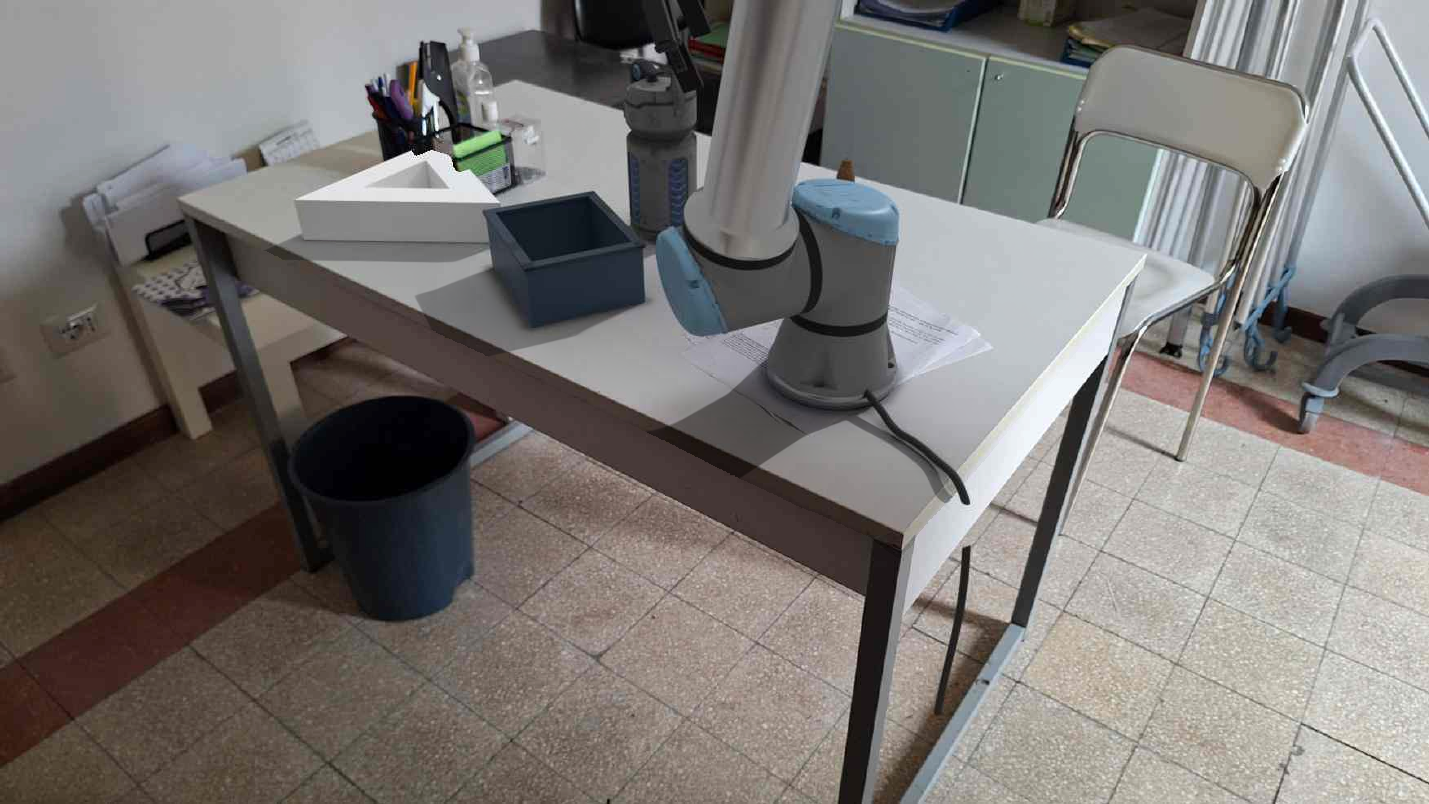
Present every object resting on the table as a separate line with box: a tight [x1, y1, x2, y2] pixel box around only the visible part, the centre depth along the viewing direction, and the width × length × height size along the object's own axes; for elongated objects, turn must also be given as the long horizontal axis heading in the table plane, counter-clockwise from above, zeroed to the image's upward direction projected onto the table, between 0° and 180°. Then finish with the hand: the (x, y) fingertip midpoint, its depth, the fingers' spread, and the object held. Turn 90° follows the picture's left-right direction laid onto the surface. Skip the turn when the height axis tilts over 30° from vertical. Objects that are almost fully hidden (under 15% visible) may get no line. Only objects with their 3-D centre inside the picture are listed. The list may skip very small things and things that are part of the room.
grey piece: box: [622, 57, 698, 241], centre depth 144 cm, size 10×13×25 cm
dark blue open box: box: [483, 190, 647, 328], centre depth 133 cm, size 19×16×9 cm
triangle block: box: [293, 150, 502, 244], centre depth 150 cm, size 30×26×6 cm
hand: (698, 61), depth 129 cm, fingers open, 13 cm apart
